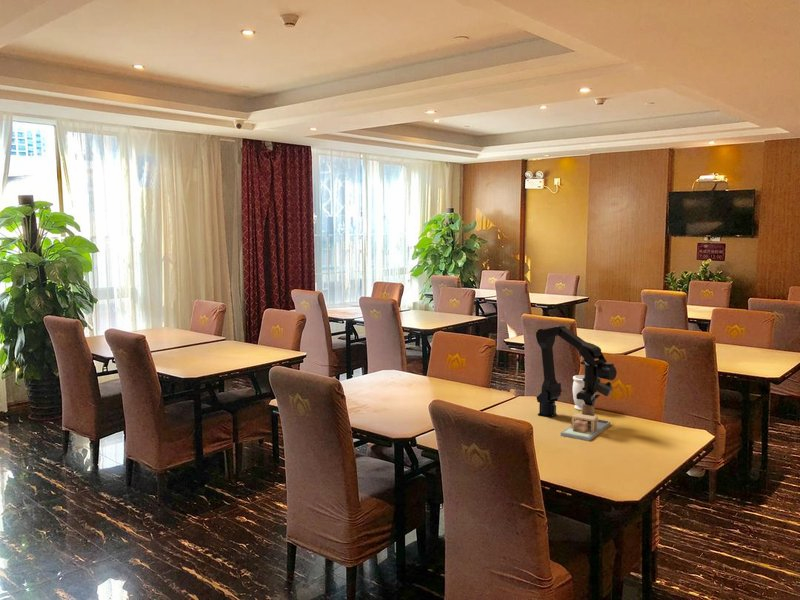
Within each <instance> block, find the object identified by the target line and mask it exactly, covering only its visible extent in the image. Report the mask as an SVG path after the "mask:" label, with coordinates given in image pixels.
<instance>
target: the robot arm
mask: <svg viewBox="0 0 800 600" xmlns="http://www.w3.org/2000/svg"><path fill="white" fill-rule="evenodd" d="M556 337H560V338H561V339H562V340H564V341H565V342H566V343H567V344H569V345H571V346H572V347H573V348H575V349H576V350H577V351H578V353H579V355H580V356H581V357H582V358H583V360H582V361H581V362H579V363H580V364H581V365H584V374H583V375H584V378H583V381H584V387H583V388H582V390H584V391H580V392H579V393H577V394H576V399H580V400H584V402H585V404H586V405H592V406H594V407H595V403H596V400H597V399H598V398H599V397H601V395H600V394H602V395H603V396H604V397H608V396H610V395H611V393H612V391H613V386H612V385H613V384H612V382H610V381H614V380H615V379H616V377H617V374H618V373H617V369H616V367H615V364H614V363H613V362H612V363H611V362H610V363H608V362H607V359H606V358H605V356H604V354H603V352H602V348H601V347H600V346H598V345H596V344H594V343H591V342H588V341H585V340H584V339H582V338H581V337H580V336H578V335H577V334H575V333H574V332H572V331H571V330H570V329H568V328H567V327H566V326H565V325H563V324H562V325H556V326H554V327H544V328H539V329H538V330H536V332H535V338H536V341H537V342H536V343H537V344H538V346H539V347H540V349H541V350H540V351H541V360H542V369H543V370H542V371H543V372H542V373H543V382H542V385H541V391H540V392H541V393H539V394H538V395H537V397H536V402H537V403H539V408H538V409H539V413H537V416H541V417H547V418H553V417H554V416H556V415H557V405H556V402H557V401H559V398H560V396H561V395H562V392H563V391H562V384H561V382H558V381H557V379H556V372H555V371H556V370H555V361H554V352H553V351H554V350H553V346H554V345H555V342H556ZM601 379H603V380H608V381H607V382H601ZM598 393H599V394H598Z"/></svg>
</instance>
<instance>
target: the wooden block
mask: <svg viewBox="0 0 800 600" xmlns="http://www.w3.org/2000/svg"><path fill="white" fill-rule="evenodd" d="M581 412H582V413H581V414H584V415H590V416H595V405H594V406H592V405H585V404H583V405H582V411H581ZM590 428H591V421H587V420H582V421H581V420H580V419H578V420H576V421H575V422H574V429H573V431H577V432H582V433H585V432H586V431H588V430H589V429H590Z"/></svg>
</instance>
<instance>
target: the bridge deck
mask: <svg viewBox="0 0 800 600" xmlns="http://www.w3.org/2000/svg"><path fill="white" fill-rule="evenodd" d="M576 420H581V421H582V420H587V421H591V428H590V429H589V430H588V431H586V432H585V433H582V432H577V431H573V429H574V422H575V421H576ZM610 425H611V421H609V420H605V419H599V417H598V416H595V415H594V416H590V415H584V414H582V413H578V412H576V413H574V414H572V415H571V425H570V426H568V427H566V428H565V429H563V430H562V431H561V432H560V436H561V437H565V438H566V437H567V438H571V439H577V440H582V441H587V442H590V441H592V440H593V439H594V438H595V437H597V436H598V435H599V434H600V433H601V432H603V431H604V430H605V429H607V428H608V427H609V426H610Z"/></svg>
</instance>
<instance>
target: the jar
mask: <svg viewBox="0 0 800 600" xmlns="http://www.w3.org/2000/svg"><path fill="white" fill-rule="evenodd" d="M583 378H584V374H576V375H574V376H572V380H573V382H572V396H573V402H574V404H575V405H574V408H573V409H575V410H577V411H581V412H582V405H583V404H585V402H584V400H580V399H576V394H577V393H579V392H580V391H584V390H582V388H583V387H584V381H583ZM585 405H586V404H585Z"/></svg>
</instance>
